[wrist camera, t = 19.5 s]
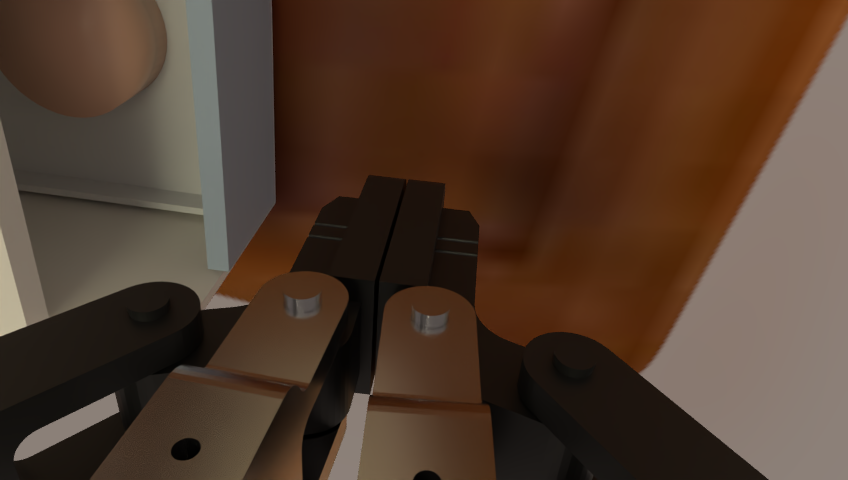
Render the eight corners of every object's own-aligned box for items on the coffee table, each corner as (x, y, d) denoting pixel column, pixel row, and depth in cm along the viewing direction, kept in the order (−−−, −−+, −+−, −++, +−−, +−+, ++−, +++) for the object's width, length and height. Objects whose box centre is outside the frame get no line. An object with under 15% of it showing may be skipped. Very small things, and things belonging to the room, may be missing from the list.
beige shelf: (-140, -241, 23) (-629, -326, 13) (267, -195, 22) (84, -247, 12) (-28, 161, 31) (-280, 301, 21) (275, 202, 30) (166, 366, 20)
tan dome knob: (13, -69, 23) (-34, -62, 21) (166, -35, 23) (134, -25, 21) (32, 80, 26) (-8, 99, 24) (168, 110, 26) (140, 132, 24)
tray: (-139, -218, 22) (-322, -244, 17) (267, -171, 22) (200, -184, 17) (-33, 161, 29) (-140, 220, 24) (275, 203, 29) (229, 271, 24)
